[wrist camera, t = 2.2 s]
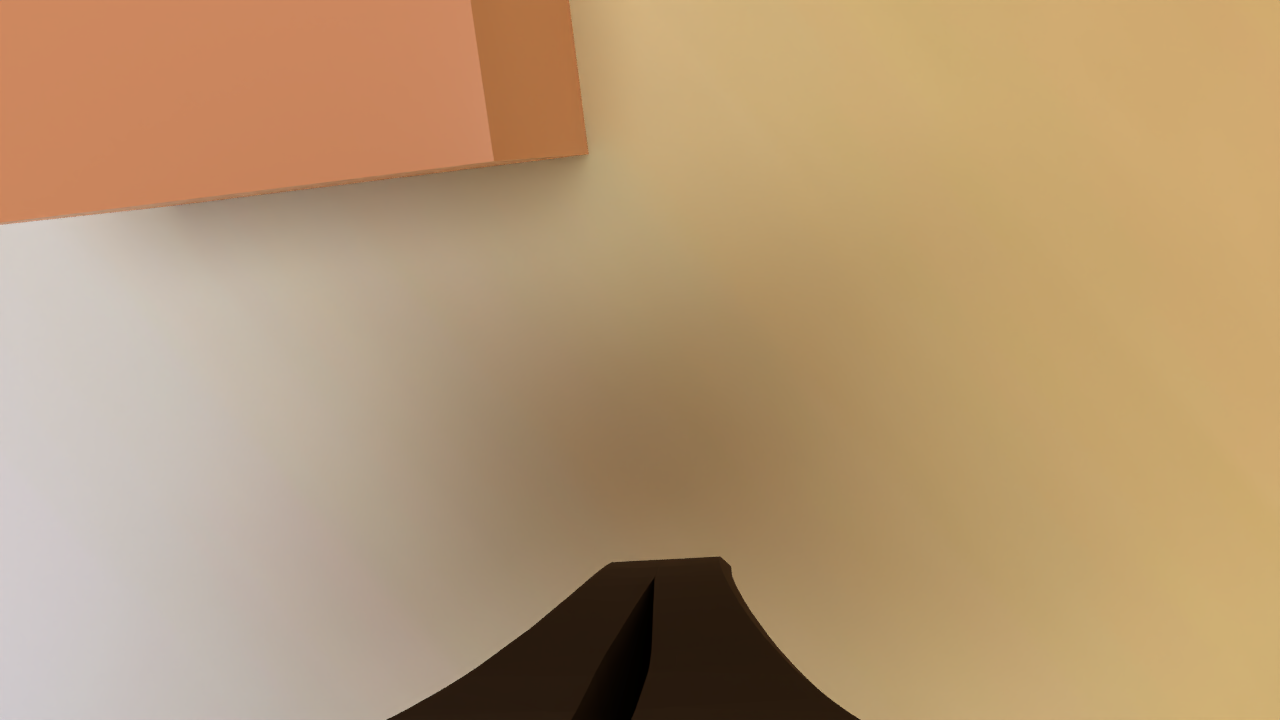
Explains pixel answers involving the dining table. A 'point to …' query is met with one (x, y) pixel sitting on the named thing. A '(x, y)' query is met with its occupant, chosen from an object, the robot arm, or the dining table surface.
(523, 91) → the orange rectangular block
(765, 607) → the dining table surface
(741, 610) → the robot arm
